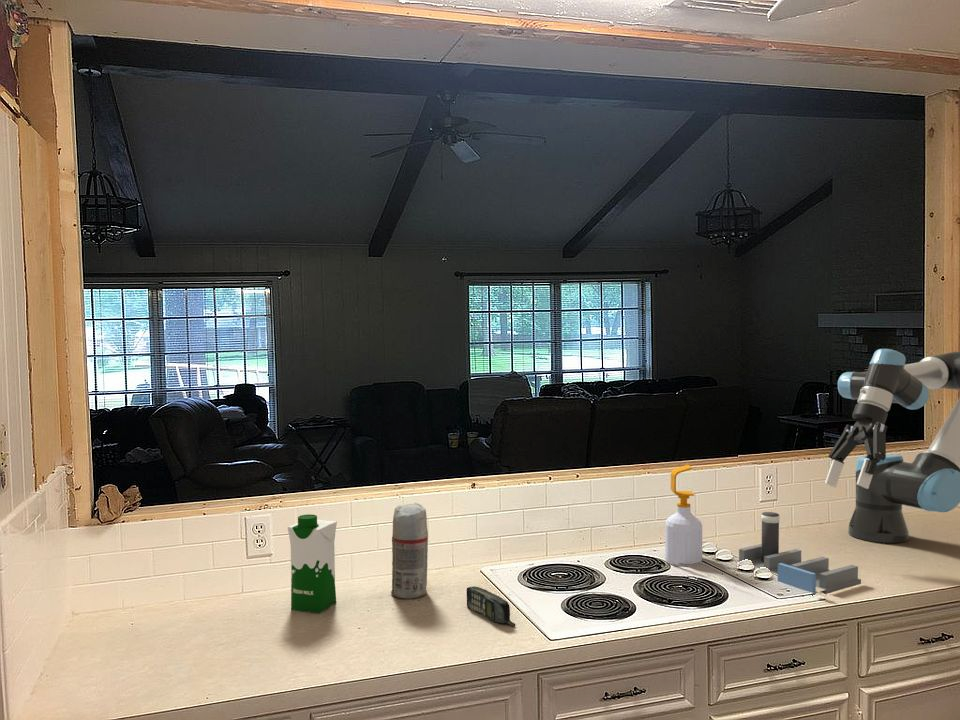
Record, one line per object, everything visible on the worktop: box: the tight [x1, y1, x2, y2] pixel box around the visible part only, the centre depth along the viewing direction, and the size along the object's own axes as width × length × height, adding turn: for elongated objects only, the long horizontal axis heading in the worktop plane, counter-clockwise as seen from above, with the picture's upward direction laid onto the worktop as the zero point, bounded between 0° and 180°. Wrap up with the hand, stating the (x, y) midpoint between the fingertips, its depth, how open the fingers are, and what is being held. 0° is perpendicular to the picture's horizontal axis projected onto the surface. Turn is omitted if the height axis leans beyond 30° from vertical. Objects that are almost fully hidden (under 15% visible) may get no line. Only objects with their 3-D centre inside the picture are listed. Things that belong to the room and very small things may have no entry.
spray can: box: [390, 502, 429, 600], centre depth 172 cm, size 8×8×20 cm
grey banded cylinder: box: [760, 511, 780, 563], centre depth 190 cm, size 4×4×12 cm
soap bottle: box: [664, 464, 703, 568], centre depth 193 cm, size 9×9×25 cm
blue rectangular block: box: [777, 563, 817, 597], centre depth 172 cm, size 1×9×5 cm, turn 31°
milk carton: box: [287, 513, 338, 614], centre depth 164 cm, size 9×9×20 cm
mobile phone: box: [466, 586, 516, 627], centre depth 158 cm, size 5×3×15 cm
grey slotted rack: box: [736, 543, 862, 595], centre depth 184 cm, size 13×25×4 cm, turn 31°
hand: (845, 486), depth 189 cm, fingers open, 13 cm apart
